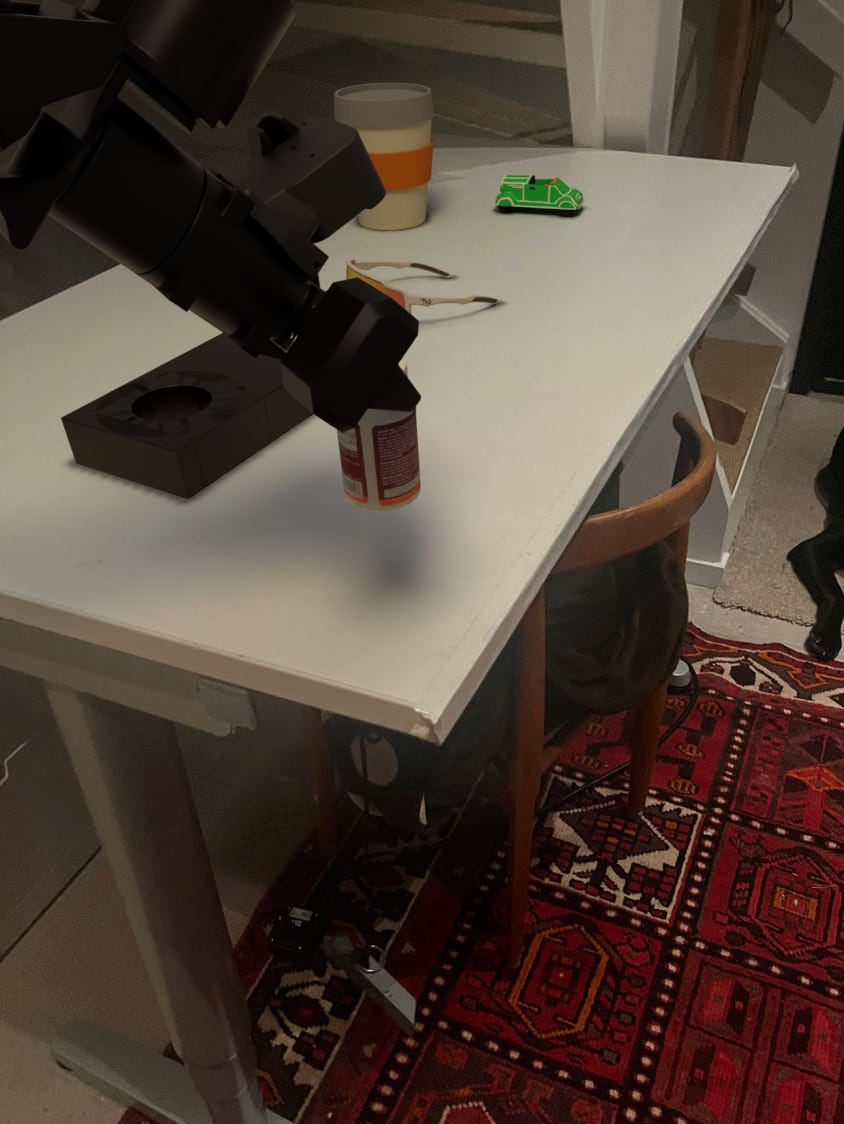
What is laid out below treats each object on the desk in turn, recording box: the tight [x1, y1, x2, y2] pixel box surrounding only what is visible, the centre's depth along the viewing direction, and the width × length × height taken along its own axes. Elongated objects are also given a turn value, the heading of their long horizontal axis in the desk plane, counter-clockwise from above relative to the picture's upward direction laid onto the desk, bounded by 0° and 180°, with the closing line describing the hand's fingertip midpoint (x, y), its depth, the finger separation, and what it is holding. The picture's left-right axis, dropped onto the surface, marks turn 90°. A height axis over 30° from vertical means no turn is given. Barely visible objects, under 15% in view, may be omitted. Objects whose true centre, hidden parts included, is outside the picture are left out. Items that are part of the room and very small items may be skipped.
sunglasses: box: [345, 258, 500, 315], centre depth 99 cm, size 14×15×5 cm
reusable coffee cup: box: [333, 82, 435, 231], centre depth 119 cm, size 13×13×15 cm
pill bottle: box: [336, 357, 422, 513], centre depth 55 cm, size 5×5×8 cm
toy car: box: [491, 174, 585, 218], centre depth 125 cm, size 12×5×4 cm, turn 75°
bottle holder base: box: [60, 332, 314, 499], centre depth 80 cm, size 28×12×4 cm, turn 151°
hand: (395, 389), depth 54 cm, fingers closed on pill bottle, 4 cm apart
